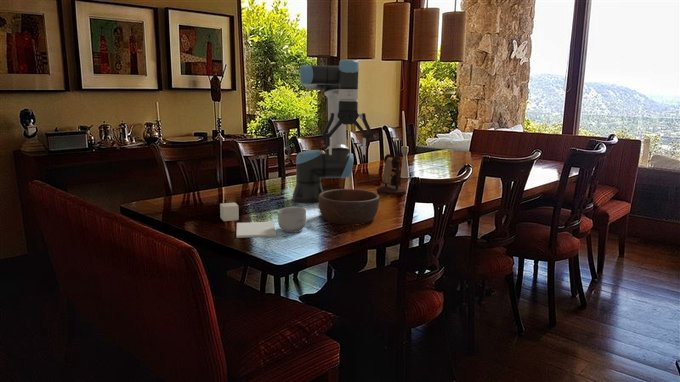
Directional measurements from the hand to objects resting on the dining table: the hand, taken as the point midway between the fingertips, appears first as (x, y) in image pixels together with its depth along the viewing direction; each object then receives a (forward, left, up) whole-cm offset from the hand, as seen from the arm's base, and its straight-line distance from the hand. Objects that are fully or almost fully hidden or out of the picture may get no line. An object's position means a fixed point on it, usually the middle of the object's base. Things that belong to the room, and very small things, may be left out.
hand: (347, 154), depth 206 cm
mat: (+37, +11, -27) cm, 47 cm away
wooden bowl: (-1, -1, -27) cm, 27 cm away
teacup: (+23, +11, -27) cm, 37 cm away
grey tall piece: (-32, -45, -27) cm, 61 cm away
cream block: (+47, -7, -27) cm, 54 cm away
